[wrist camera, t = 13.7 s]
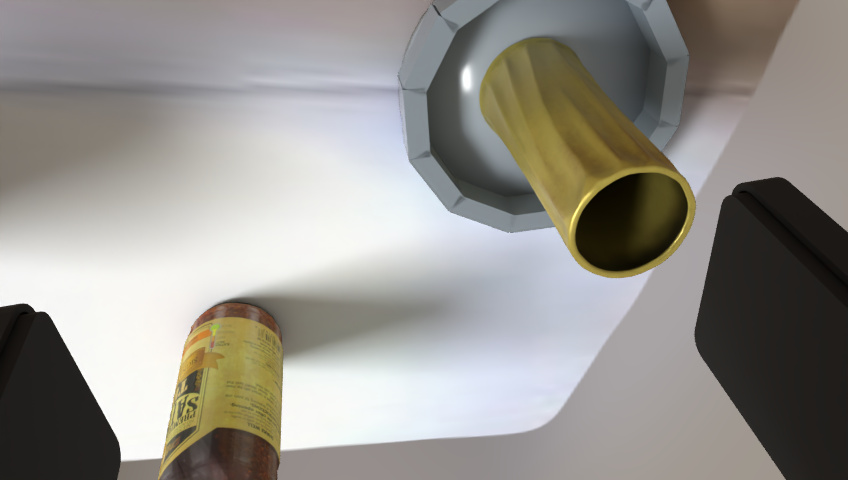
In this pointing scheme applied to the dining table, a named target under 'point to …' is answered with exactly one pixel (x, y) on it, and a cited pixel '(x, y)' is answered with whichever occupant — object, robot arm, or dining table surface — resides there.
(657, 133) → the round tray
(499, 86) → the vase
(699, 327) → the robot arm
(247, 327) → the sauce bottle
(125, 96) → the dining table surface
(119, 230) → the dining table surface
